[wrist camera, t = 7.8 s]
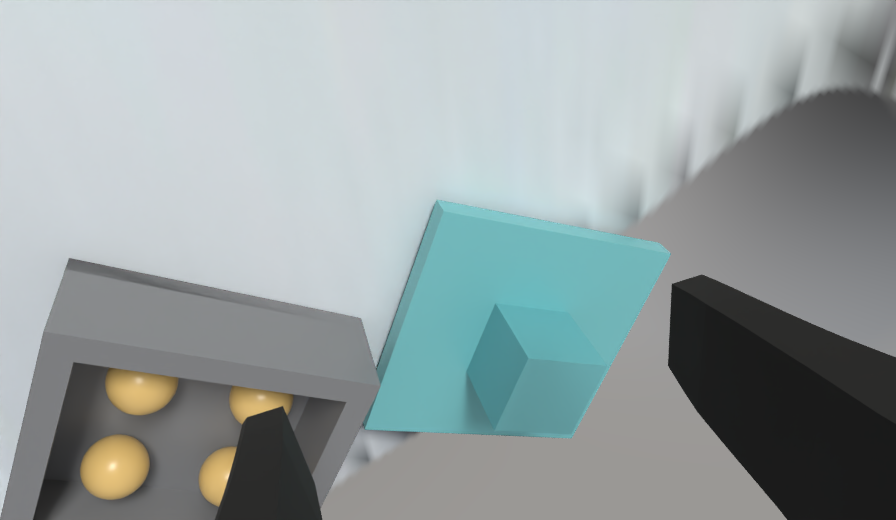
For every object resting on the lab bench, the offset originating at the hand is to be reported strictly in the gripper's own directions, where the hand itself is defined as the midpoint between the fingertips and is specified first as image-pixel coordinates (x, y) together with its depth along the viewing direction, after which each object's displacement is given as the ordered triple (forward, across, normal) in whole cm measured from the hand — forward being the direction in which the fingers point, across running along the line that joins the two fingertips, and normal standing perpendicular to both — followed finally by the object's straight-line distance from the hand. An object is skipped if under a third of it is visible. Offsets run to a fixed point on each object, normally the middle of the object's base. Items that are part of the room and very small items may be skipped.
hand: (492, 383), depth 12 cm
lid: (+10, -3, +8) cm, 13 cm away
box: (+10, +8, +7) cm, 15 cm away
